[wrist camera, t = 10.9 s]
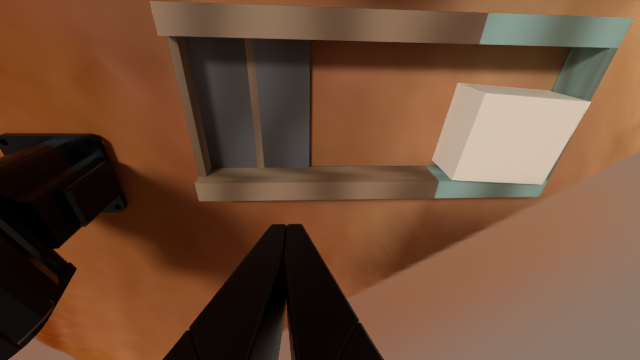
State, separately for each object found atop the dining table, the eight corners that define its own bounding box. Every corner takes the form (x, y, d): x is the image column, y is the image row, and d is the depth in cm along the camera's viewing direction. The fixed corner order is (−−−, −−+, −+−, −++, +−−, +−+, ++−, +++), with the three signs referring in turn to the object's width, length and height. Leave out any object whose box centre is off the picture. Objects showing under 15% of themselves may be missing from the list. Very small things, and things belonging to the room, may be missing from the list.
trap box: (209, 183, 21) (198, 201, 19) (171, 4, 15) (149, 1, 13) (516, 180, 23) (539, 196, 21) (591, 18, 17) (634, 18, 15)
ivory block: (430, 158, 22) (451, 180, 19) (456, 82, 19) (486, 92, 16) (509, 163, 22) (542, 184, 19) (546, 89, 19) (591, 101, 16)
